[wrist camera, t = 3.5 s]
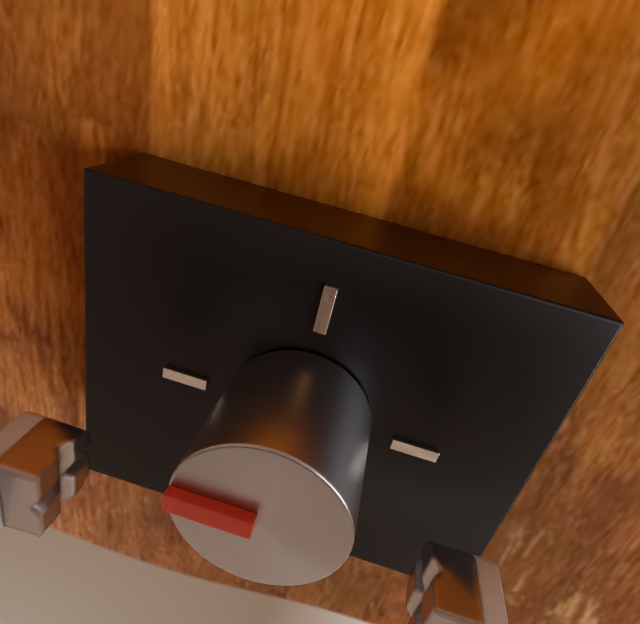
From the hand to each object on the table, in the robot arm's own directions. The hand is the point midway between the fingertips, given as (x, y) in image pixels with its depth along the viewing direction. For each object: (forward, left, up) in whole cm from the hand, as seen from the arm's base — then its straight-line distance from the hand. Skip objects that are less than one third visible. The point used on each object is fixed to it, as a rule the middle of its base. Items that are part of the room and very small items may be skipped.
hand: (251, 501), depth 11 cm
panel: (0, 0, -7) cm, 7 cm away
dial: (0, 0, -4) cm, 4 cm away
